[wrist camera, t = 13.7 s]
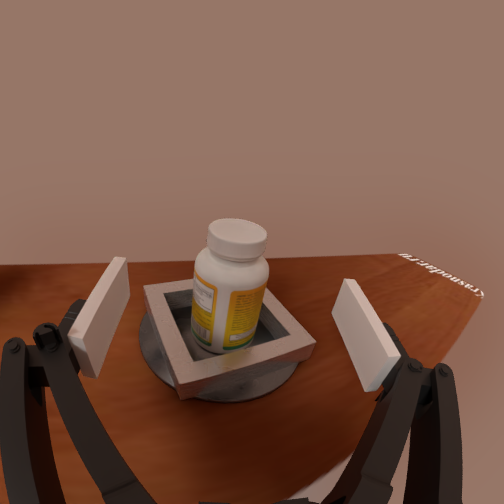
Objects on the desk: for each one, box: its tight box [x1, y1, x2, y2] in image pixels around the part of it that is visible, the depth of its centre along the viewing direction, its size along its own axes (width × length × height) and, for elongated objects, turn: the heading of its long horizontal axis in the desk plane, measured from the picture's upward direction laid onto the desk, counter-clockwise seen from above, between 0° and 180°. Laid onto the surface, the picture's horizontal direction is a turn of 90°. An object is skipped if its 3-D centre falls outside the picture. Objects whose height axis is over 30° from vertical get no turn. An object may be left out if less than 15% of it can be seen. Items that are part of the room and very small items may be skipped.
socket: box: [139, 279, 316, 403], centre depth 23 cm, size 14×14×2 cm
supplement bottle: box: [191, 218, 269, 354], centre depth 21 cm, size 5×5×10 cm
